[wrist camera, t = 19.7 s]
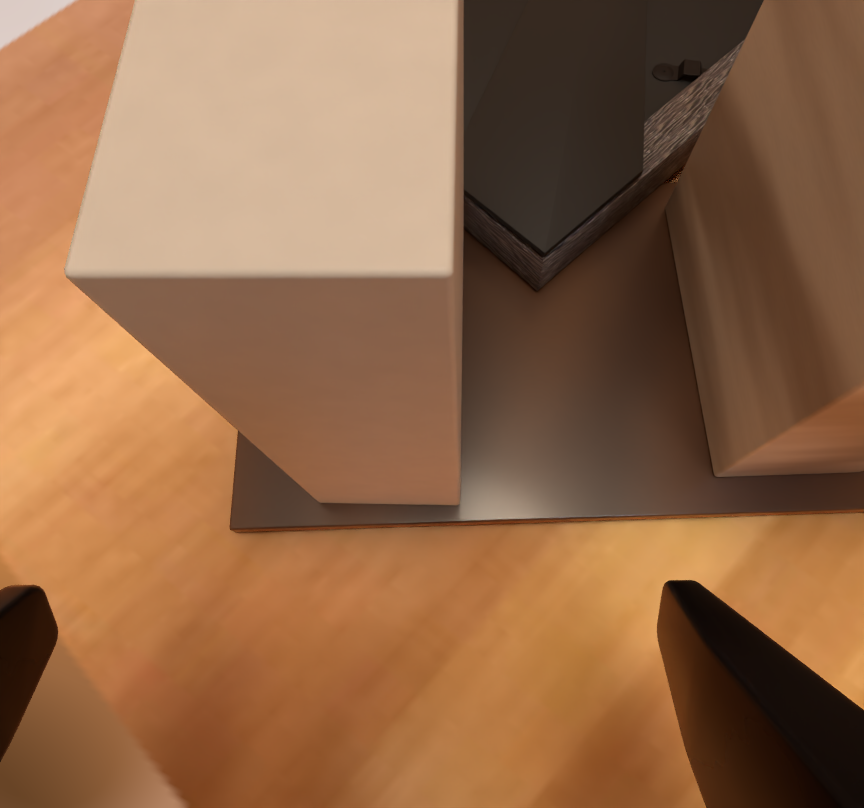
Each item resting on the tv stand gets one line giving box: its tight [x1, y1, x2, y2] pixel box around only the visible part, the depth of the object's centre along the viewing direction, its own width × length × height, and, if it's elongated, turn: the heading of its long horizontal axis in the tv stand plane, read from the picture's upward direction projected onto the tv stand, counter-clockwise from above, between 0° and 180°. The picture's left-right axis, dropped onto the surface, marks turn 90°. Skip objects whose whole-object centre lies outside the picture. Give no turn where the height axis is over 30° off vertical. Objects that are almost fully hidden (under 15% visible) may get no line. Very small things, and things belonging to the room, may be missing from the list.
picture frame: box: [464, 0, 764, 291], centre depth 22 cm, size 13×2×18 cm
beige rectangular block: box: [64, 0, 464, 505], centre depth 13 cm, size 4×9×12 cm, turn 178°
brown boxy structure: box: [230, 0, 864, 532], centre depth 14 cm, size 23×11×12 cm, turn 91°
